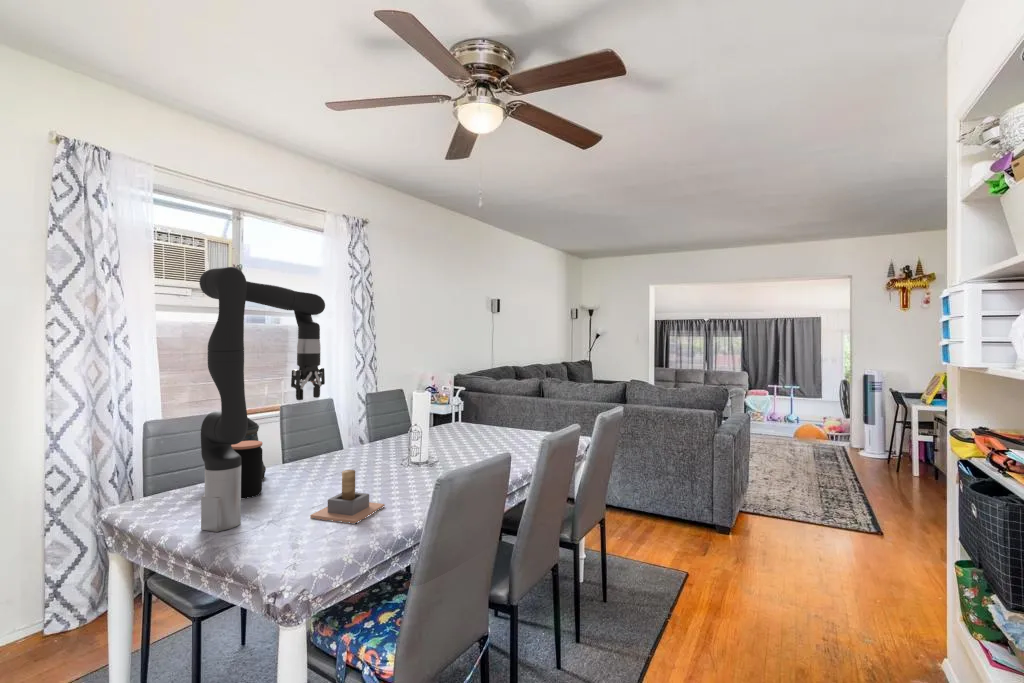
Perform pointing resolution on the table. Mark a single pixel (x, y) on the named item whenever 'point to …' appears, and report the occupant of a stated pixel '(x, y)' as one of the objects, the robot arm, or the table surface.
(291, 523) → the table surface
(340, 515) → the holder
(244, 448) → the coffee jar
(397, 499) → the table surface
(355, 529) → the table surface
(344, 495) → the tan dome-topped cylinder
